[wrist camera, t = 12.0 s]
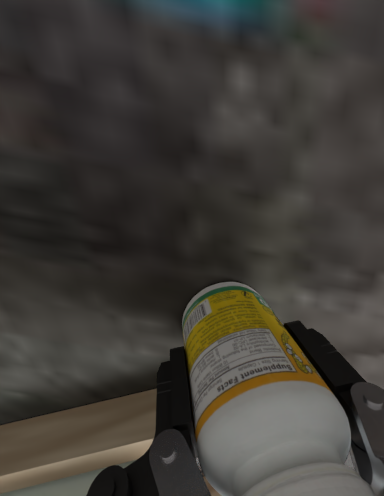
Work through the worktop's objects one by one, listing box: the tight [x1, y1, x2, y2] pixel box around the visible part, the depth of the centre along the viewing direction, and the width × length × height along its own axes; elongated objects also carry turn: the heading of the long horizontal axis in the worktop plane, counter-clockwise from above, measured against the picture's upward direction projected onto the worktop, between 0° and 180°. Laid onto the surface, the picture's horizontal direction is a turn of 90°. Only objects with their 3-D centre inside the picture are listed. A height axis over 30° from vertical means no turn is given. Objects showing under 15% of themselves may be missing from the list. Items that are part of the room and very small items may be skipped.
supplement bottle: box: [182, 282, 376, 496], centre depth 9 cm, size 5×5×10 cm
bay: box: [0, 389, 222, 496], centre depth 17 cm, size 14×25×3 cm, turn 100°
